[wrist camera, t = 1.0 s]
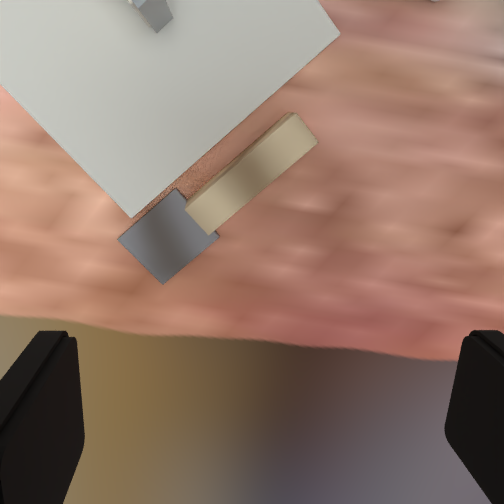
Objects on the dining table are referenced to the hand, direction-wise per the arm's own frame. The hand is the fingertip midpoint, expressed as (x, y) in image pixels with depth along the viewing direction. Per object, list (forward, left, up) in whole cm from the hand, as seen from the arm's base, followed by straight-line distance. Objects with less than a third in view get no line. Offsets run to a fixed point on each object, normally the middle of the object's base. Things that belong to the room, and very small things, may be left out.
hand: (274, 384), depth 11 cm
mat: (-3, -12, -25) cm, 28 cm away
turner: (+1, -1, -25) cm, 25 cm away
